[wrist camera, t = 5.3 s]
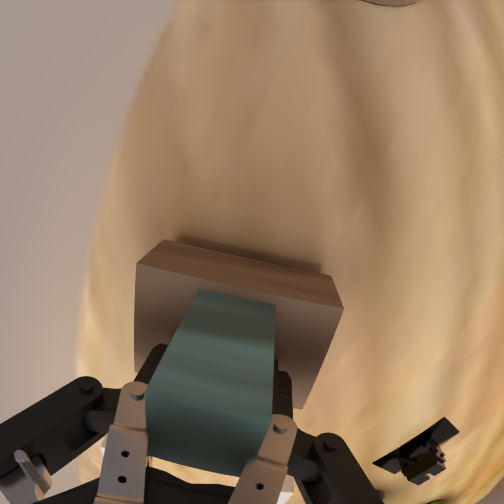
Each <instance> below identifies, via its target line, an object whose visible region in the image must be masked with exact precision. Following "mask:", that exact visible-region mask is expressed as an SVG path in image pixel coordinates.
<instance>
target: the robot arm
mask: <svg viewBox="0 0 504 504" xmlns="http://www.w3.org/2000/svg"><path fill="white" fill-rule="evenodd" d="M365 1H369V2H373V3H376V4H381V5H389V6H403V5H408V4H412V3H415V2H417V1H419V0H365ZM172 338H173V337H172ZM172 338H171V340H172ZM171 340H170V342H171ZM170 342H169V343H170ZM168 345H169V344H168ZM168 345H166V344H162V343H160V344H158V345H157V346H155V347H153V348H152V350H151V352H150V353H149V356H148V357H147V359H146V360H145V362H144V364H143V366H142V367H141V369H140V371H139V372H138V374H137V376H136V378H135V379H134V381H133V382H129V383H127V384H125V385H124V386H123V387H122V388H121V389H111V388H102V384H101V383H100V382H99V381H98V380H97V379H95V378H93V377H89V376H83V377H79V378H77V379H75V380H74V381H72V382H70V383H69V384H67V385H65V386H64V387H62V388H60V389H59V390H57V391H55V392H54V393H52V394H50V395H49V396H47V397H45V398H43V399H42V400H40V401H38V402H37V403H35V404H34V405H32V406H30V407H28V408H27V409H25V410H23V411H22V412H20V413H18V414H16V415H15V416H13V417H11V418H10V419H8V420H6V421H5V422H3V423H1V424H0V491H1V492H2V493H3V494H4V496H5V497H6V498H7V500H8V501H9V502H10V503H11V504H277V501H278V498H279V495H280V492H281V489H282V486H283V483H284V480H285V477H286V474H287V475H289V476H292V477H294V479H295V481H296V484H297V486H298V488H299V490H300V492H301V494H302V496H303V498H304V500H305V502H306V504H384V503H383V501H382V500H381V498H380V496H379V495H378V493H377V492H376V490H375V489H374V487H373V486H372V484H371V482H370V481H369V479H368V478H367V476H366V475H365V473H364V471H363V470H362V468H361V467H360V465H359V463H358V462H357V460H356V459H355V457H354V456H353V454H352V452H351V451H350V449H349V448H348V446H347V444H346V443H345V441H344V440H343V439H342V438H341V437H340V436H338V435H336V434H333V433H322V434H320V435H318V436H317V437H315V436H312V435H310V434H307V433H305V432H303V431H301V430H300V429H299V428H298V427H297V425H296V423H295V422H294V421H293V404H292V379H291V377H290V376H289V374H288V372H286V371H280V370H278V366H279V361H278V359H274V373H273V400H272V421H271V424H270V426H269V429H268V431H267V434H266V436H265V438H264V441H263V443H262V445H261V448H260V450H259V452H258V454H255V453H251V454H250V456H249V458H248V460H247V463H246V465H245V467H244V469H243V472H242V474H241V476H240V478H239V480H238V483H237V485H236V487H231V486H226V485H220V484H191V483H187V482H185V481H183V480H181V479H179V478H177V477H175V476H173V475H171V474H169V473H167V472H165V471H162V470H159V469H156V468H153V467H152V458H153V456H151V449H150V439H151V434H150V429H149V428H146V415H145V390H146V388H147V386H148V384H149V382H150V380H151V378H152V376H153V374H154V372H155V370H156V368H157V367H158V365H159V363H160V361H161V359H162V357H163V355H164V353H165V351H166V349H167V347H168ZM107 433H108V436H107V441H106V446H105V452H104V457H103V463H102V468H101V474H100V477H99V478H97V479H94V480H92V481H90V482H87V483H85V484H82V485H80V486H77V487H75V488H73V489H70V490H67V491H65V492H62V493H59V494H57V495H54V496H51V497H48V498H46V499H44V495H45V493H46V492H47V491H48V490H49V489H50V487H51V485H52V479H51V476H52V475H53V474H54V473H56V472H57V471H58V470H60V469H61V468H62V467H64V466H65V465H67V464H68V463H69V462H71V461H72V460H73V459H75V458H76V457H77V456H79V455H80V454H81V453H83V452H84V451H85V450H87V449H88V448H89V447H91V446H92V445H93V444H94V443H96V442H97V441H98V440H100V439H101V438H102V437H104V436H105V435H106V434H107Z"/></svg>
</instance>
